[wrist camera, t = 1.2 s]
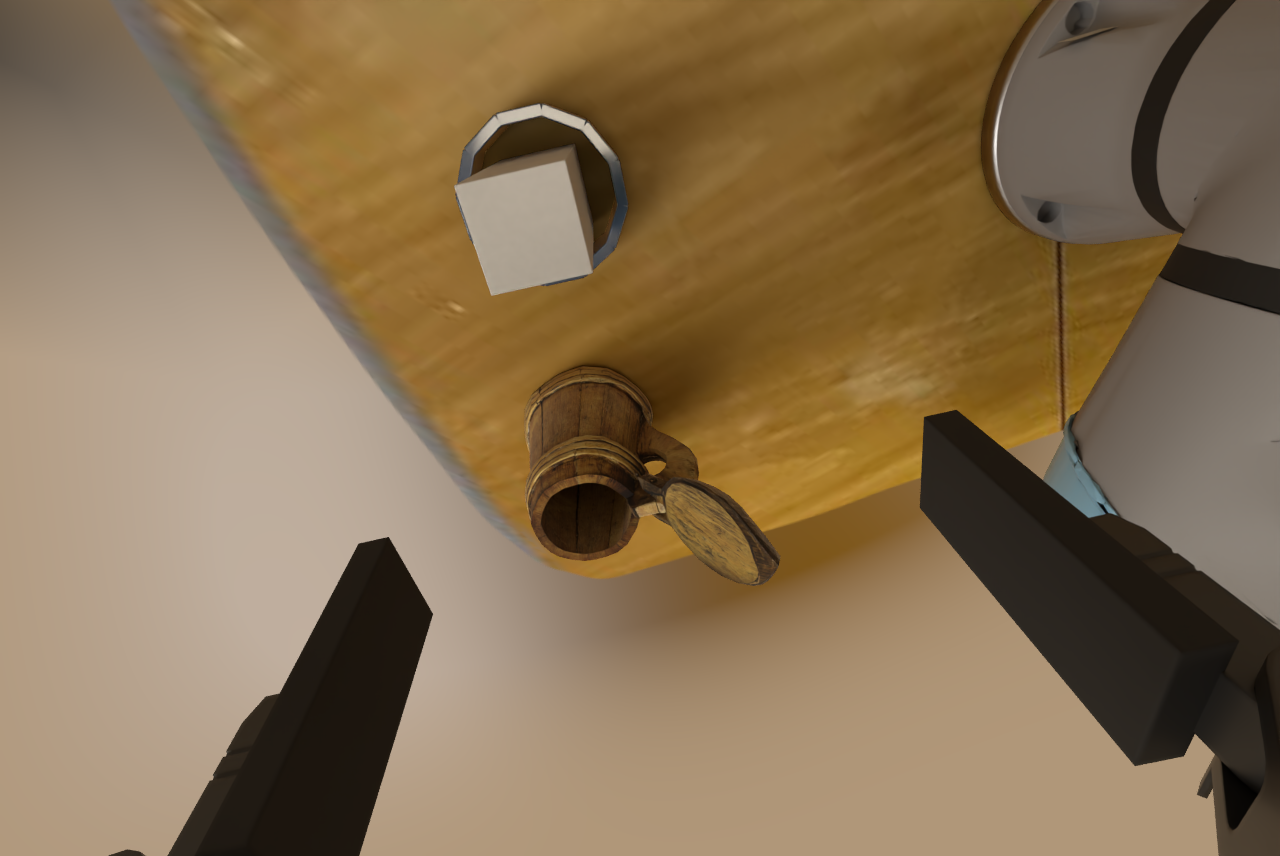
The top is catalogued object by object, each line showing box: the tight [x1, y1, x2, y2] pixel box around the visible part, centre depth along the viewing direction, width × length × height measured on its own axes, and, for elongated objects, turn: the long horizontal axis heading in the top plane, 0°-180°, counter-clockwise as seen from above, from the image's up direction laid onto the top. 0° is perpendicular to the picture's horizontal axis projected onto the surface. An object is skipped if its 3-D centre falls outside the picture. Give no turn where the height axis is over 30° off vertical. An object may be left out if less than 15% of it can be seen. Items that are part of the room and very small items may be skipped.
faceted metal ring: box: [455, 103, 628, 286], centre depth 31 cm, size 9×9×4 cm
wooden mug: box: [525, 366, 780, 586], centre depth 33 cm, size 9×14×18 cm, turn 107°
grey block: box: [454, 143, 593, 295], centre depth 28 cm, size 4×4×12 cm
